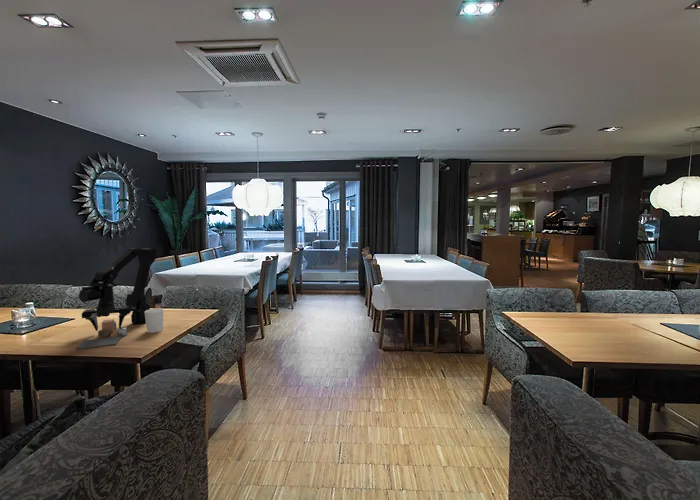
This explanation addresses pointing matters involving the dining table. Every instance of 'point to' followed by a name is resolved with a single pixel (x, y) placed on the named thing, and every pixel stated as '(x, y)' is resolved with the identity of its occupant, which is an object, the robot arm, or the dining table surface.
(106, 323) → the terracotta block
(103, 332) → the walnut block
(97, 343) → the charcoal mat
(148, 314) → the white cup
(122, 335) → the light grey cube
